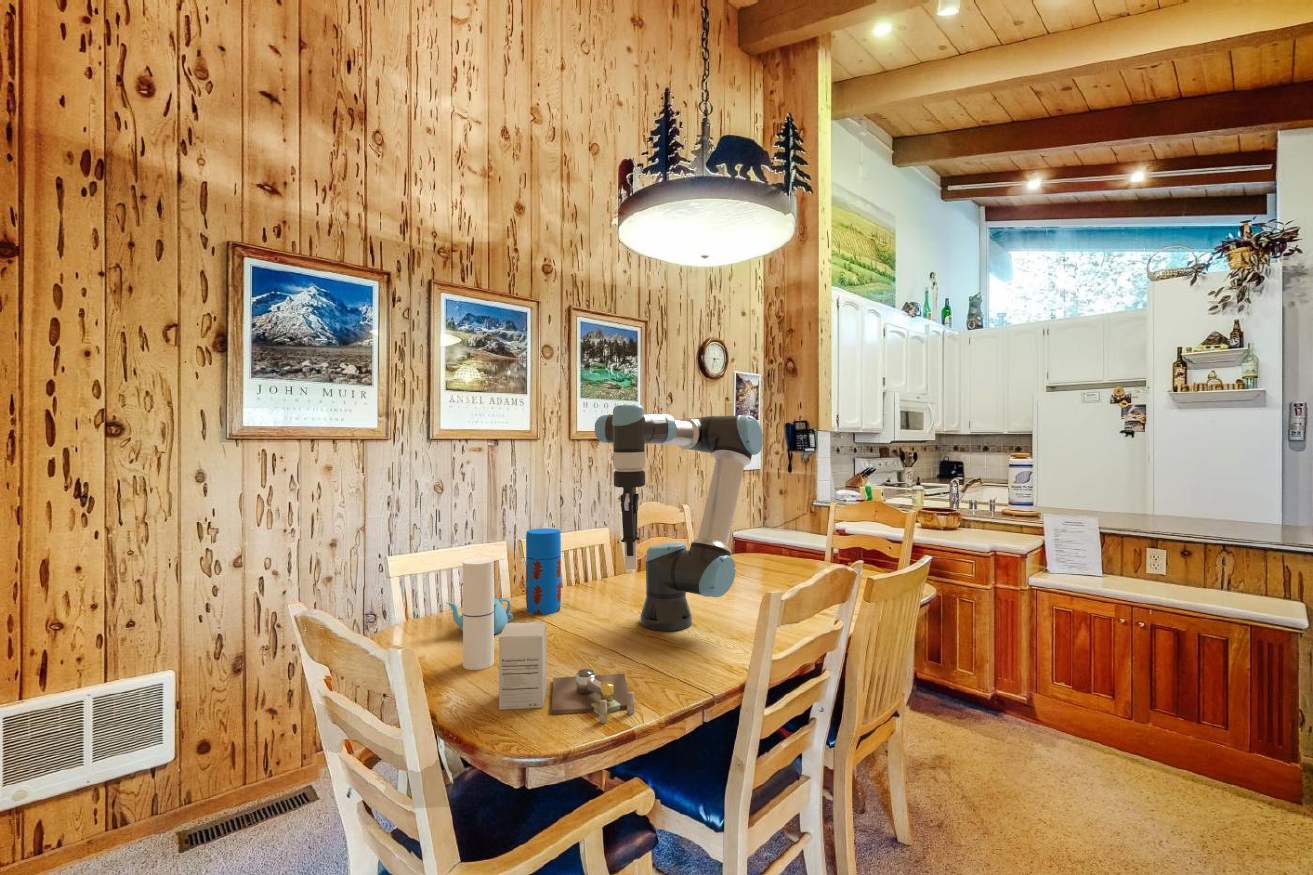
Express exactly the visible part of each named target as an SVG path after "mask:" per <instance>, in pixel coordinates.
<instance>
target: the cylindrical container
mask: <svg viewBox="0 0 1313 875" xmlns="http://www.w3.org/2000/svg"><path fill="white" fill-rule="evenodd" d="M494 562H495V560H494V559H493V558H489V557H475V558H469V559H465V560H463V561H462V614H463V631H462V667H463V668H464V669H465V670H468V671H480V670H485V669H489V668H490V667H492V666H494V664H495V634H494V598H495V589H494V588H495V586H494V585H495V582H494V581H495V575H494V574H495V570H494V569H495V568H494V567H495V564H494Z"/></svg>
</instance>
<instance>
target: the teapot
mask: <svg viewBox="0 0 1313 875" xmlns="http://www.w3.org/2000/svg"><path fill="white" fill-rule="evenodd" d="M503 602H506V603H507V607H506V610H505V608H504V606H503V605H502V603H503ZM445 604H447V605H449V606H450V608H451V610H452V619H453V621H454V623H455V624H456V626H459V629H460V630H461V631H462V632H463V613H462V614H460V613H459V610H458V605H457V604H456V603H455V602H451V601H450V602H449V601H447V602H445ZM511 606H512V604H511V600H509V599H508V598H506V597H502V598H500V599H498V598H497V597H494V635H497V634H499V633H501V632H502V630H503V628H504V626H505V624H506V623H510V622H511V621H513V619H514V616H513V614H512V613H510V612H511Z"/></svg>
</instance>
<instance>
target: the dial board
mask: <svg viewBox="0 0 1313 875" xmlns="http://www.w3.org/2000/svg"><path fill="white" fill-rule="evenodd" d="M595 679H596V680H598V681H600V682H601V683H603V682H607V681H609V682H613V683H614V700H613V701H611V702H607V700H601V696H600V695H598V694H597V693H595V692H594V691H593V692H590V693H580V692H578V691H577V690H576V676H562V677H553V678H552V693H551V695H552V696H551V701H552V702H551V715H562V714H563V715H564V714H577V713H589V712H590V713H591V712H594V713H596V714H597V715H598V716H599V724H602V725H603V724H607V723H608V714H611V713H613V712H616V711H620V710H621V711H622V710H626V714H628V715H630V716H632V715H634V714H635V692H634V691H629V686H628V684H627V680H626V675H625V673H613V674H612V673H611V674H595Z"/></svg>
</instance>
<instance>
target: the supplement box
mask: <svg viewBox="0 0 1313 875" xmlns="http://www.w3.org/2000/svg"><path fill="white" fill-rule="evenodd" d="M547 668H548V667H547V622H546V621H542V622H541V621H540V622H508V623H506V624H505V626H504V628H503V630H502V631H501V632H500V634H499V637H498V686H499V687H498V693H499V694H498V696H499V697H498V698H499V702H498V704H499V705H498V708H499V710H503V711H504V710H523V709H524V710H525V709H526V710H527V709H543V707H544V704H545V698H546V694H547V691H548V689H547V687H548V685H547V682H548V681H547V680H548V679H547V673H548V672H547Z"/></svg>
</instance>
